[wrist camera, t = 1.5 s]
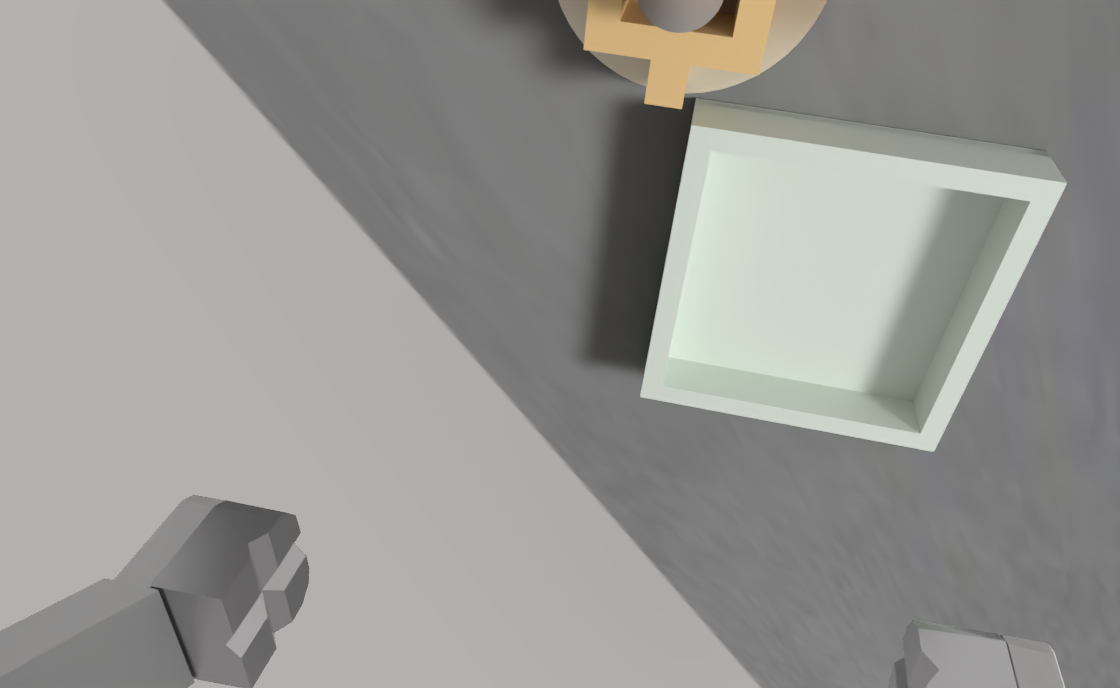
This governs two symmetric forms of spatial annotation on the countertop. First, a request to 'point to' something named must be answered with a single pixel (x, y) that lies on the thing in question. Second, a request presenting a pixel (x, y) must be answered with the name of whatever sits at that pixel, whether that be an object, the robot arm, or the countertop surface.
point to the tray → (839, 270)
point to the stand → (689, 5)
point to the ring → (680, 43)
